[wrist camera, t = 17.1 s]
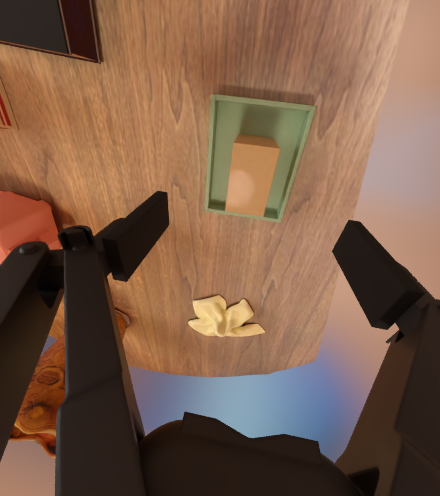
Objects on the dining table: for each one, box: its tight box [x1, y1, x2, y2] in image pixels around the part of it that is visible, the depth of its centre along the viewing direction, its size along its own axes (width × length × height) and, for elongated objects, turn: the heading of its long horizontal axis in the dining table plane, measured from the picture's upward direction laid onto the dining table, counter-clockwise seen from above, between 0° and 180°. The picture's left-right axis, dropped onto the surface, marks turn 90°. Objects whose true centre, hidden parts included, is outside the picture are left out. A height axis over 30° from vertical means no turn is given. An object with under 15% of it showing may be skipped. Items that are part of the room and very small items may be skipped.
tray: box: [204, 94, 317, 223], centre depth 31 cm, size 13×16×3 cm
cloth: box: [188, 295, 265, 337], centre depth 53 cm, size 22×19×6 cm
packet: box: [225, 133, 280, 217], centre depth 27 cm, size 5×8×10 cm, turn 174°
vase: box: [9, 310, 130, 458], centre depth 51 cm, size 21×20×30 cm
